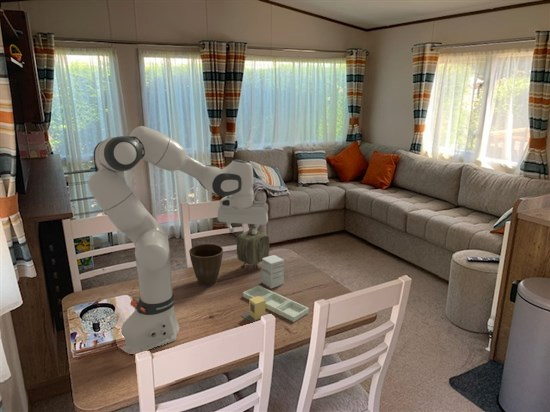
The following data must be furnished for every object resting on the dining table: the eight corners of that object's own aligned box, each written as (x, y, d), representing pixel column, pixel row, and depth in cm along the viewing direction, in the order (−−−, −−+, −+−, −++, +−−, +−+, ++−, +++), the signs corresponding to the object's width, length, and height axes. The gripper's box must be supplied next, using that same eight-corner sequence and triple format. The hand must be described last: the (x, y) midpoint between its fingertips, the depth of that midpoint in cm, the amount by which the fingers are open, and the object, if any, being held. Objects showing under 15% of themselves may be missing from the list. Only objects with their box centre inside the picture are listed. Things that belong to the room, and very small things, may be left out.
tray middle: (275, 313, 160) (275, 308, 159) (258, 305, 166) (258, 300, 165) (290, 305, 167) (290, 299, 166) (273, 297, 173) (274, 292, 172)
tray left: (258, 305, 166) (258, 300, 166) (242, 297, 172) (242, 292, 171) (273, 297, 173) (273, 291, 172) (258, 290, 179) (258, 284, 178)
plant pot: (230, 282, 186) (229, 250, 181) (204, 293, 175) (202, 259, 171) (210, 272, 195) (209, 241, 191) (184, 282, 185) (182, 250, 180)
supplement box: (261, 283, 185) (261, 258, 181) (274, 279, 189) (274, 254, 185) (270, 289, 179) (271, 263, 175) (284, 285, 183) (284, 259, 180)
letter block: (255, 320, 155) (255, 304, 153) (249, 315, 158) (248, 299, 156) (265, 316, 157) (265, 300, 155) (258, 311, 161) (258, 295, 159)
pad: (257, 326, 152) (257, 325, 152) (241, 317, 158) (241, 316, 157) (273, 316, 158) (273, 315, 158) (257, 308, 164) (257, 307, 164)
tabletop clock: (258, 260, 209) (257, 214, 202) (270, 265, 203) (270, 218, 196) (237, 268, 199) (236, 220, 192) (249, 274, 193) (249, 225, 186)
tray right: (294, 323, 154) (294, 317, 153) (276, 314, 160) (276, 308, 159) (308, 313, 161) (308, 308, 160) (291, 305, 167) (291, 299, 166)
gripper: (269, 199, 162) (269, 232, 165) (220, 197, 165) (221, 229, 169) (266, 204, 156) (266, 237, 160) (215, 201, 159) (216, 234, 163)
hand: (243, 233), depth 164 cm, fingers open, 8 cm apart
